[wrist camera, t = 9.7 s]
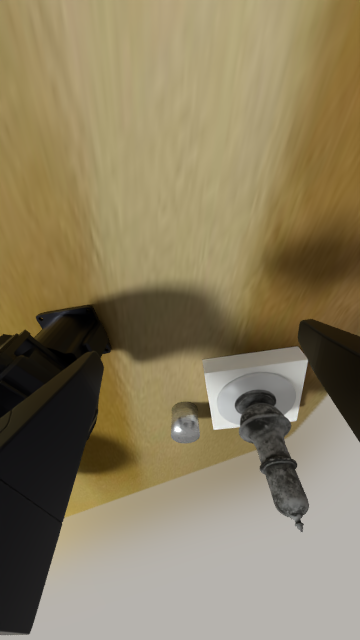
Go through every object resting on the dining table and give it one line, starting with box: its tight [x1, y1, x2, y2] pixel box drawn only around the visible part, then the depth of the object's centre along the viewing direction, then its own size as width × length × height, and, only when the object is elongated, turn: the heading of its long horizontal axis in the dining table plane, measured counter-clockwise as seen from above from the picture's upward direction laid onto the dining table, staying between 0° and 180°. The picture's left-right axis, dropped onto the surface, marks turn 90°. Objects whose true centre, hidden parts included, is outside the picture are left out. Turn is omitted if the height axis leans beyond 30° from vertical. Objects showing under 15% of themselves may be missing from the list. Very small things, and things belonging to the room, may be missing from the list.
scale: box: [202, 346, 308, 430], centre depth 28 cm, size 12×13×3 cm
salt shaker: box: [235, 389, 309, 532], centre depth 22 cm, size 6×6×12 cm
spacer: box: [171, 402, 200, 443], centre depth 31 cm, size 4×4×4 cm
